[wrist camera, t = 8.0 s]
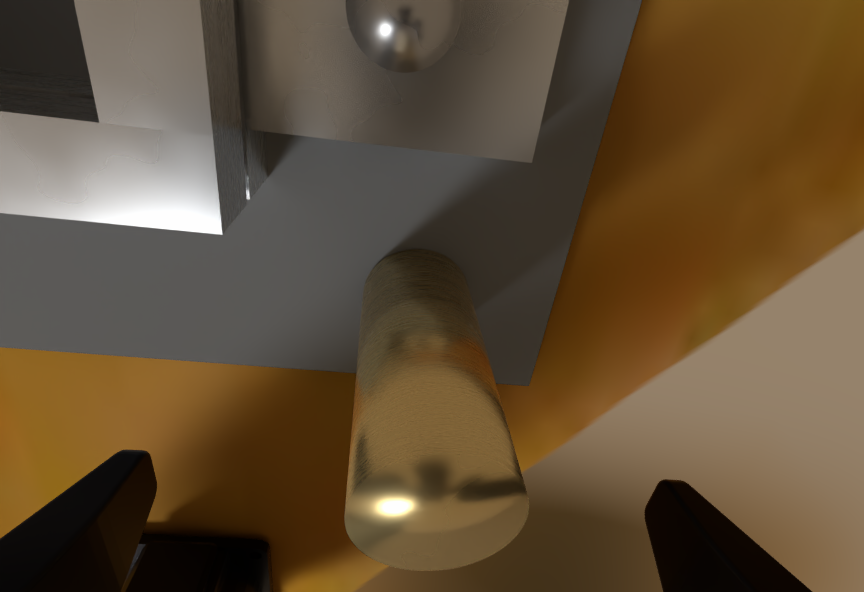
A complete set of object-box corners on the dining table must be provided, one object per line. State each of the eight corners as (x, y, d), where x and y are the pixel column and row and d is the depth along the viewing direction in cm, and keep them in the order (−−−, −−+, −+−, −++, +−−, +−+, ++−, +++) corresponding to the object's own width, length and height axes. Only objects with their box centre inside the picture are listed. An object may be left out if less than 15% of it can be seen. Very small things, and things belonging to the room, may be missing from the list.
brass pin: (466, 338, 15) (519, 564, 9) (366, 341, 15) (351, 576, 9) (471, 247, 13) (539, 447, 7) (359, 250, 13) (335, 459, 7)
